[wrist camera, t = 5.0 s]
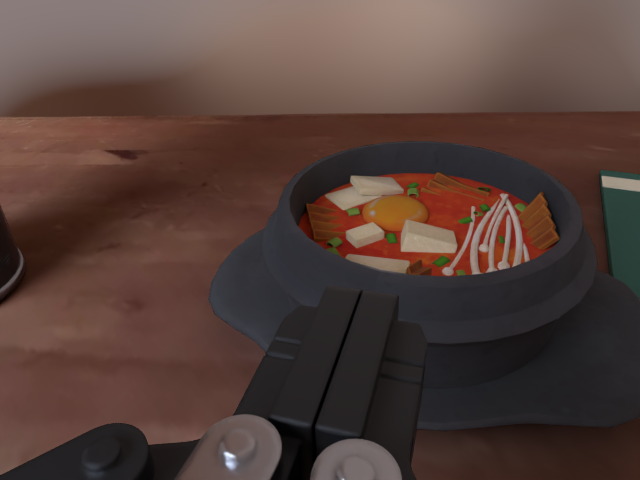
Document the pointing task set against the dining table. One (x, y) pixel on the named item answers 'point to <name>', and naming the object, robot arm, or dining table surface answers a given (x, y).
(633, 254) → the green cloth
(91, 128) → the dining table surface
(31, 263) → the dining table surface
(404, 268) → the casserole
